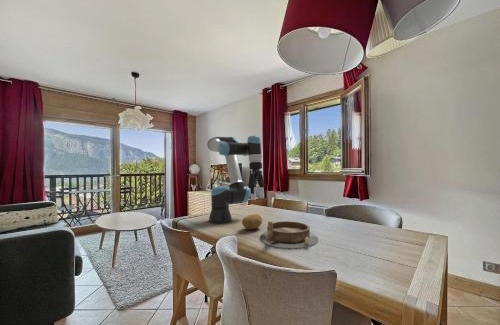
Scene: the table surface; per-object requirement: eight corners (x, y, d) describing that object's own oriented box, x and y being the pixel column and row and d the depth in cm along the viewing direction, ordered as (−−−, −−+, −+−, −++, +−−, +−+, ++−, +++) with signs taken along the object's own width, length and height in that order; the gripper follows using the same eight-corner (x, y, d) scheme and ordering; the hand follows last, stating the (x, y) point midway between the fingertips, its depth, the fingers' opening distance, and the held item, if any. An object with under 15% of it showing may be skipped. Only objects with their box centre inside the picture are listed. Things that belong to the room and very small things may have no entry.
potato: (237, 230, 132) (237, 216, 132) (253, 225, 142) (253, 212, 142) (250, 233, 125) (249, 218, 125) (266, 227, 135) (265, 214, 135)
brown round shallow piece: (286, 227, 131) (285, 211, 131) (318, 235, 115) (317, 217, 115) (253, 236, 115) (252, 218, 115) (285, 248, 99) (284, 227, 99)
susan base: (252, 244, 108) (252, 236, 108) (268, 228, 135) (268, 221, 135) (316, 251, 98) (316, 242, 98) (319, 231, 125) (319, 225, 125)
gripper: (253, 159, 121) (256, 200, 119) (268, 163, 144) (270, 197, 142) (240, 161, 124) (243, 200, 122) (257, 164, 147) (259, 197, 145)
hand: (257, 199), depth 132 cm, fingers open, 13 cm apart
